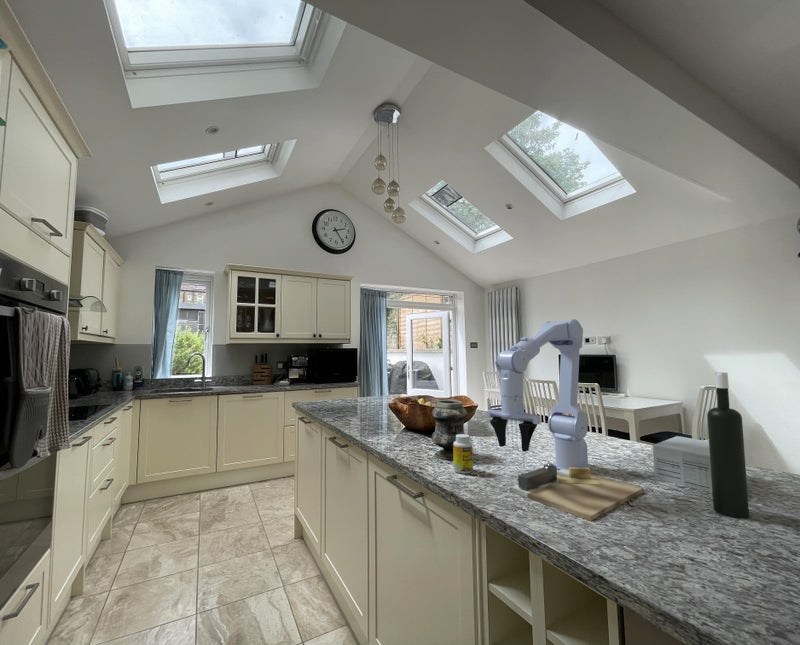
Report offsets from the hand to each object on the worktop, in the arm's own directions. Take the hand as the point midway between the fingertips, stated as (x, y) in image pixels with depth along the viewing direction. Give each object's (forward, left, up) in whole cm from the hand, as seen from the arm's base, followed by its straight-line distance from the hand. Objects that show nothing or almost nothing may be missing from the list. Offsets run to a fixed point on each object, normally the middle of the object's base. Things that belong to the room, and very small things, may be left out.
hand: (513, 448), depth 97 cm
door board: (-8, +12, -9) cm, 17 cm away
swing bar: (-3, +5, -8) cm, 10 cm away
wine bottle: (-23, +38, -10) cm, 46 cm away
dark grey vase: (-5, -30, -10) cm, 32 cm away
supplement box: (-43, +26, -10) cm, 52 cm away
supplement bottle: (+3, -16, -10) cm, 19 cm away
